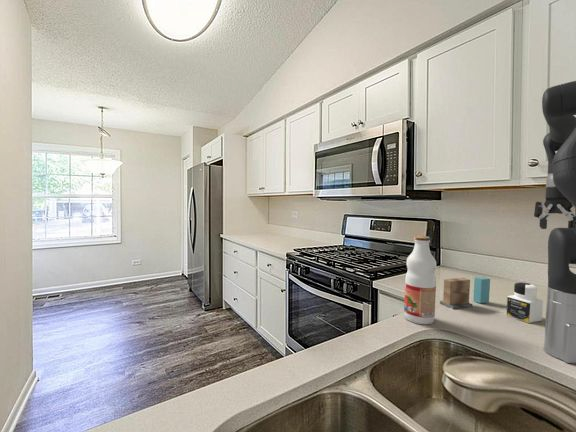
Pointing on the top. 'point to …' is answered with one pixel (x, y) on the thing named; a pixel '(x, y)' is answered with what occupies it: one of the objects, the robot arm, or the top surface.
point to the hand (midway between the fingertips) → (556, 230)
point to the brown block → (456, 293)
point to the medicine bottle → (525, 303)
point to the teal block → (481, 289)
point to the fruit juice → (420, 283)
